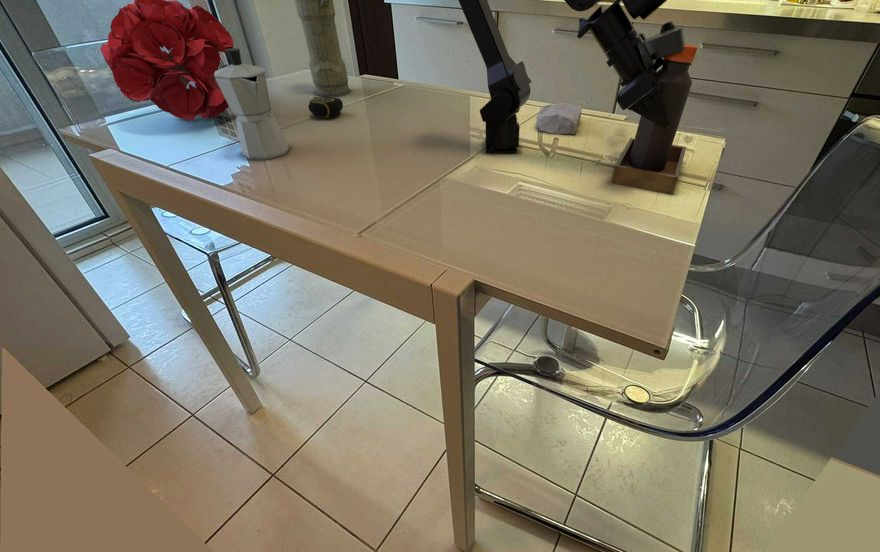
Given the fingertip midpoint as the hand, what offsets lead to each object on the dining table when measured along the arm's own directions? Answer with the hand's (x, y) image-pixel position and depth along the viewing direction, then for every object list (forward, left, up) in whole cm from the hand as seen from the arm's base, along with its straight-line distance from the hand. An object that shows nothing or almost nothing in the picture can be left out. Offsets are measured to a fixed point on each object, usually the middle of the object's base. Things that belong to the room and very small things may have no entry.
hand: (668, 120), depth 78 cm
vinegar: (-2, 0, -9) cm, 9 cm away
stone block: (-15, +26, -10) cm, 32 cm away
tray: (-1, 0, -10) cm, 10 cm away
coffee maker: (-77, +10, -10) cm, 79 cm away
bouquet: (-98, +32, -10) cm, 103 cm away
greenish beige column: (-73, +51, -10) cm, 90 cm away
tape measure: (-70, +32, -10) cm, 78 cm away
